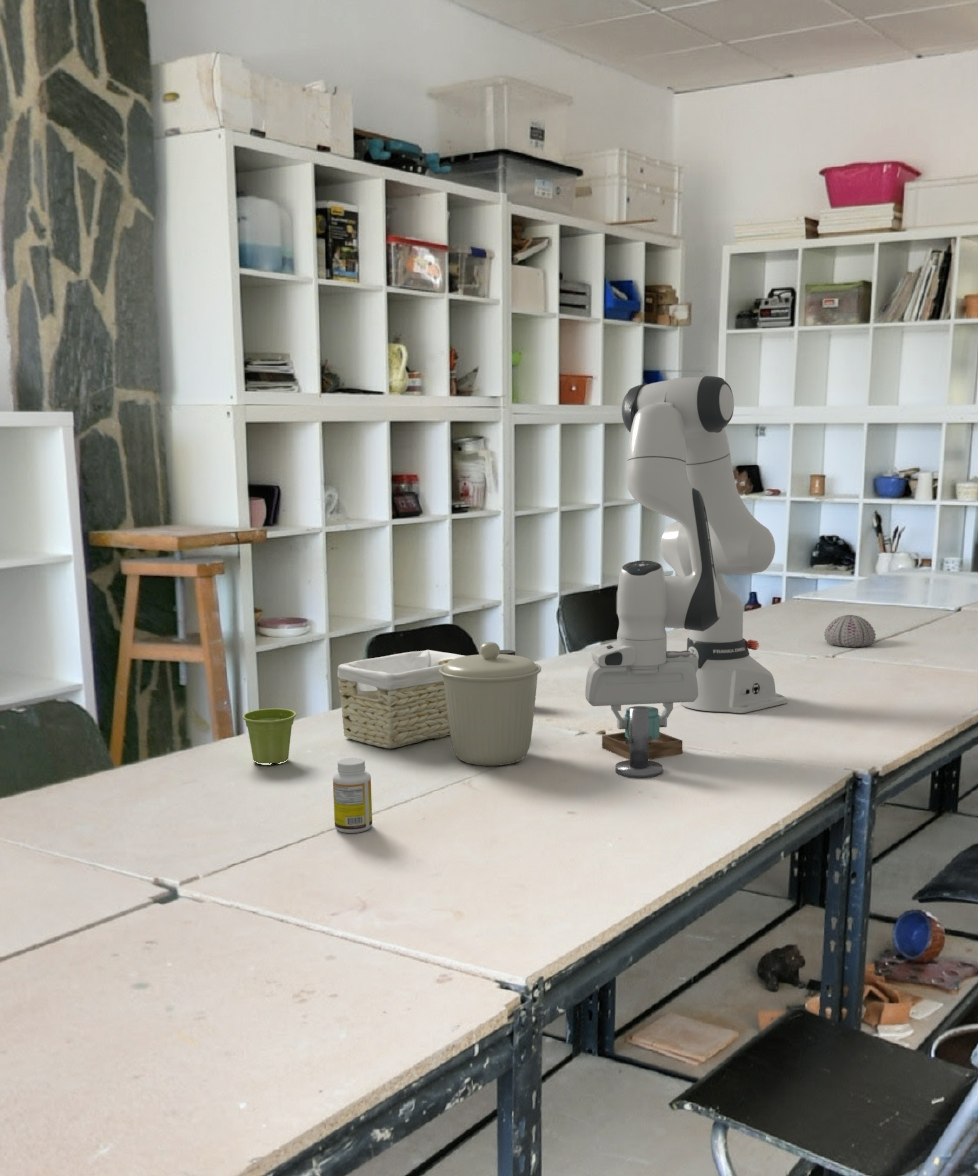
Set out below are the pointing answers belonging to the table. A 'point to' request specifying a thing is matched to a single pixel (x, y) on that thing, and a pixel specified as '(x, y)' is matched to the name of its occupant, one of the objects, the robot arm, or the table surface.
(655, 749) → the walnut tray
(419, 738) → the storage basket
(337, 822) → the supplement bottle
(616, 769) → the post
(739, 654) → the robot arm
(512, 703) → the canister
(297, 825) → the table surface
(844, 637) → the sea urchin shell
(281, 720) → the plant pot
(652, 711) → the cap
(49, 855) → the table surface
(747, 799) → the table surface
